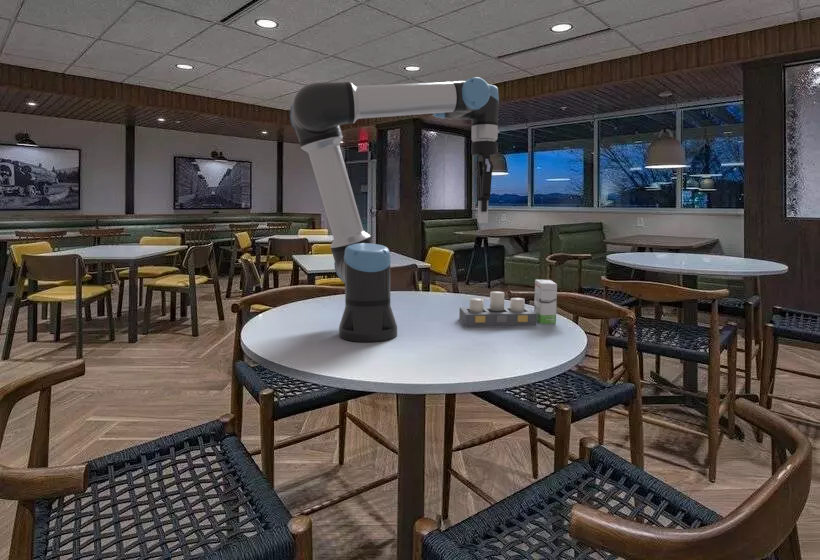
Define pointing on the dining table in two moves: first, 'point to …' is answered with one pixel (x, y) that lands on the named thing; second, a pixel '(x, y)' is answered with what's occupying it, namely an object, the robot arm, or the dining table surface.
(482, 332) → the dining table surface
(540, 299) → the ink box
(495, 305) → the button mid
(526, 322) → the console
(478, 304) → the button left
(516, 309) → the button right
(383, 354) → the dining table surface
